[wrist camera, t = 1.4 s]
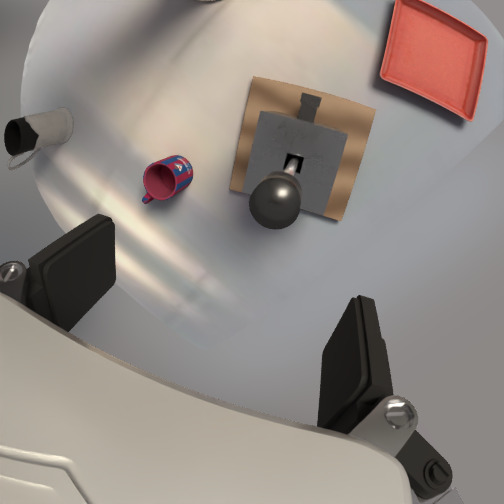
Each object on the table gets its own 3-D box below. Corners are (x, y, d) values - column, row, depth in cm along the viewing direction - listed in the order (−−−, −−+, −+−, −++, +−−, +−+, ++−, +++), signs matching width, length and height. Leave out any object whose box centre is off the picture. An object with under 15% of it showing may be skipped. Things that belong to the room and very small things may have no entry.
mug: (200, 176, 52) (184, 186, 46) (164, 205, 56) (147, 217, 50) (179, 148, 50) (161, 154, 45) (144, 178, 55) (125, 188, 49)
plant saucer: (480, 40, 28) (489, 37, 25) (464, 122, 37) (473, 123, 34) (393, -5, 30) (397, -11, 27) (374, 80, 38) (378, 77, 36)
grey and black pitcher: (78, 121, 51) (27, 133, 38) (55, 167, 58) (10, 186, 45) (60, 100, 50) (10, 108, 37) (39, 146, 56) (-6, 161, 43)
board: (255, 77, 42) (253, 76, 41) (374, 109, 40) (376, 109, 39) (231, 187, 52) (229, 189, 51) (340, 218, 50) (341, 221, 49)
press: (281, 91, 41) (266, 82, 28) (343, 108, 40) (355, 106, 28) (263, 168, 48) (242, 192, 35) (321, 185, 47) (323, 215, 34)
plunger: (273, 119, 35) (225, 129, 17) (334, 136, 34) (355, 163, 16) (260, 177, 39) (205, 243, 21) (317, 193, 38) (316, 275, 20)
